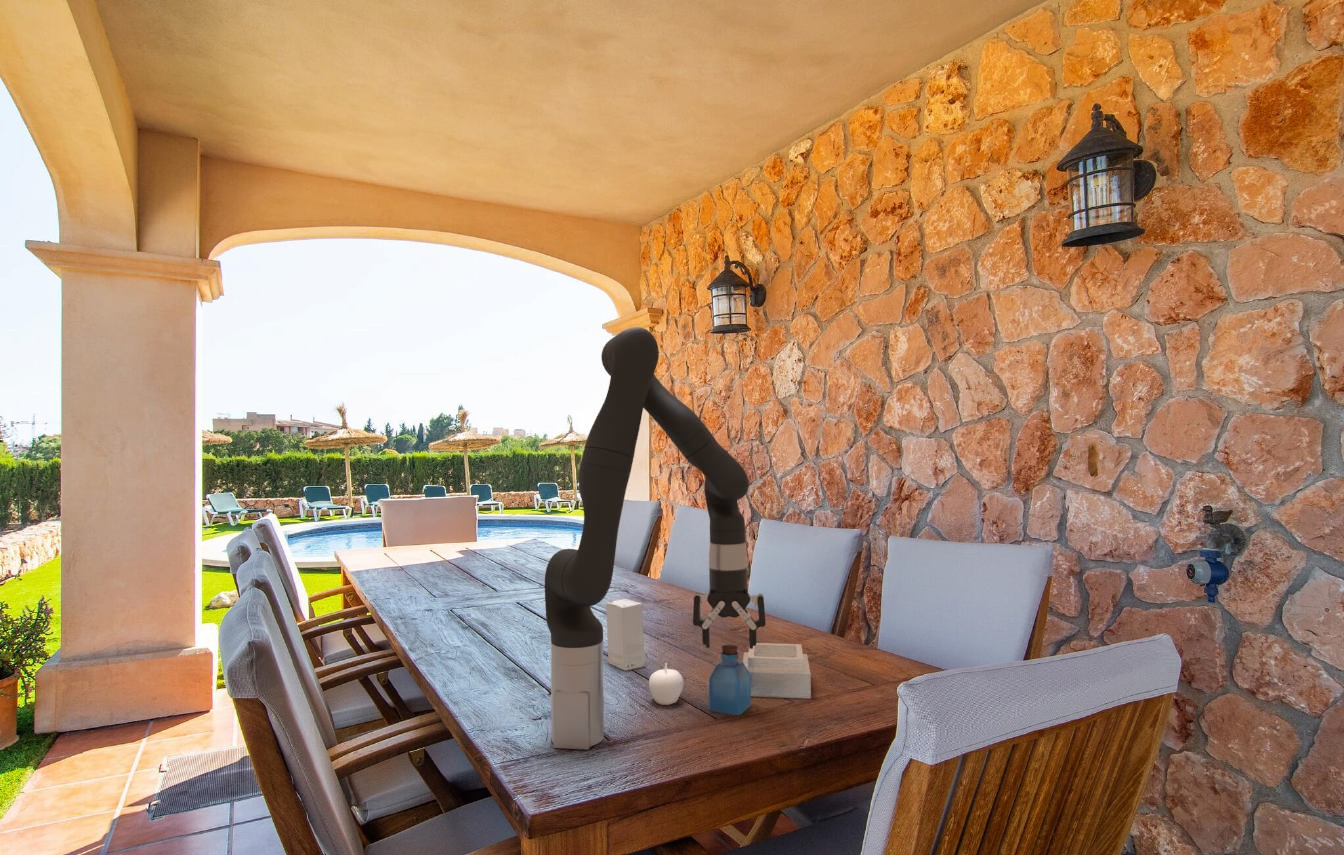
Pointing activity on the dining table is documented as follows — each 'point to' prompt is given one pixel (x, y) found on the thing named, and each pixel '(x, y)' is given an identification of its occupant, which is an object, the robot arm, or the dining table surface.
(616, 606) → the skincare box
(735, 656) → the perfume bottle
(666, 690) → the plain white apple
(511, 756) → the dining table surface
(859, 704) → the dining table surface
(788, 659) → the white square stand
